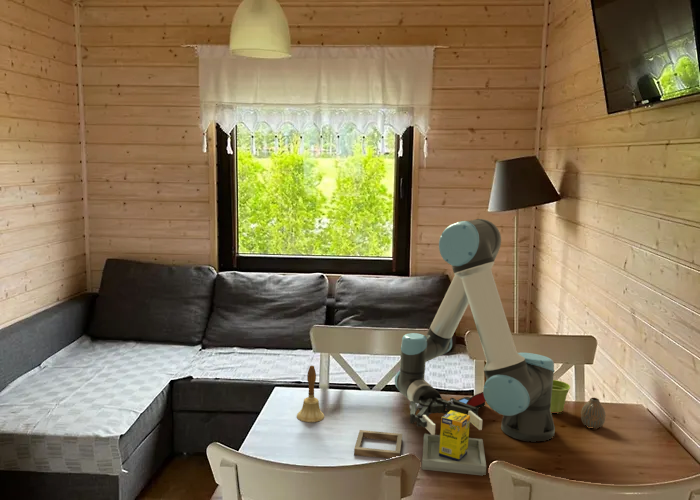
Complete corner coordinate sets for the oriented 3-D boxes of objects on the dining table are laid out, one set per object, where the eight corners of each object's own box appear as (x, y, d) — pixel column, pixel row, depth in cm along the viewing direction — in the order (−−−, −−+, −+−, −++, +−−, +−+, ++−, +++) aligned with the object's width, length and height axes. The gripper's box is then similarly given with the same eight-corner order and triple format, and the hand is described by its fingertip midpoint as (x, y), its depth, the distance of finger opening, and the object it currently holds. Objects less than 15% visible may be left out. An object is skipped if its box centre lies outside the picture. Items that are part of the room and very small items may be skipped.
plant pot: (535, 413, 209) (537, 386, 208) (539, 402, 218) (541, 377, 217) (566, 418, 206) (569, 392, 204) (569, 408, 214) (571, 382, 213)
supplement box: (459, 462, 173) (462, 422, 171) (438, 456, 176) (440, 416, 174) (468, 454, 178) (470, 415, 176) (447, 447, 181) (449, 409, 179)
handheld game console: (466, 399, 219) (467, 377, 218) (494, 409, 211) (495, 387, 210) (442, 408, 210) (443, 386, 209) (470, 419, 203) (471, 396, 202)
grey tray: (481, 447, 184) (482, 439, 183) (485, 475, 168) (486, 466, 167) (423, 442, 186) (424, 433, 185) (421, 469, 170) (422, 460, 170)
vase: (606, 432, 197) (609, 404, 195) (581, 429, 198) (584, 401, 197) (602, 423, 203) (605, 396, 202) (578, 420, 205) (581, 393, 203)
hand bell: (325, 422, 196) (327, 370, 194) (297, 422, 195) (299, 370, 193) (322, 411, 204) (324, 361, 202) (295, 411, 203) (297, 361, 201)
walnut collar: (402, 440, 186) (402, 433, 186) (399, 459, 175) (399, 453, 174) (359, 435, 188) (359, 429, 188) (354, 455, 176) (354, 448, 176)
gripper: (462, 405, 198) (498, 436, 178) (383, 413, 190) (412, 445, 170) (464, 381, 197) (500, 409, 177) (384, 388, 189) (414, 417, 169)
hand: (457, 427), depth 174 cm, fingers open, 13 cm apart
